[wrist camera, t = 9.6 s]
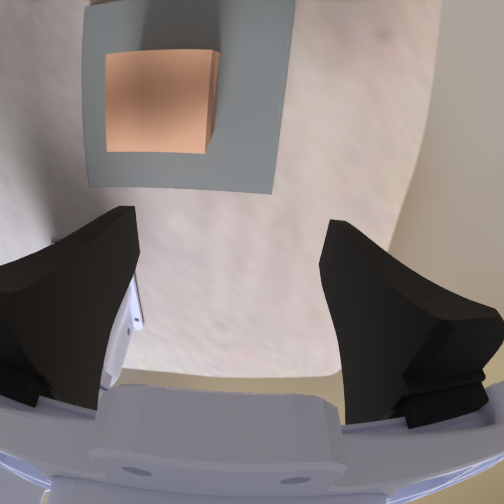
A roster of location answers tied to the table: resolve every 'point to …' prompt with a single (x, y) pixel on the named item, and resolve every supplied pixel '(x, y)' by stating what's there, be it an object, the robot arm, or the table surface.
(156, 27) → the slate mat
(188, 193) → the table surface
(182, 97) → the cube
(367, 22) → the table surface
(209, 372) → the table surface
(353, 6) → the table surface
